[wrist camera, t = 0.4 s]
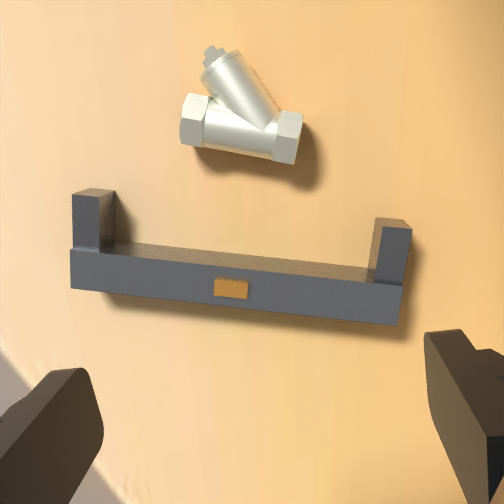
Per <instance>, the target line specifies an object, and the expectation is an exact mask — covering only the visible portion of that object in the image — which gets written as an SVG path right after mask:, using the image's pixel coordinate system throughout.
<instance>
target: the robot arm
mask: <svg viewBox="0 0 504 504" xmlns="http://www.w3.org/2000/svg"><path fill="white" fill-rule="evenodd" d="M424 353H425V366H426V380H427V393H428V401H429V407H430V412H431V416H432V419H433V422H434V425H435V427H436V430H437V432H438V434H439V437H440V439H441V441H442V444H443V446H444V448H445V451H446V453H447V455H448V458H449V460H450V462H451V465H452V467H453V469H454V472H455V474H456V476H457V479H458V481H459V483H460V486H461V488H462V490H463V493H464V495H465V497H466V500H467V502H468V504H504V356H503V355H501V354H499V353H498V352H496V351H494V350H492V349H483V350H476V349H475V348H474V346H473V345H472V343H471V342H470V341H469V339H468V338H467V337H466V335H465V334H464V333H463V331H462V330H461V329H454V330H445V331H435V332H426V333H425V334H424ZM103 436H104V427H103V421H102V418H101V414H100V411H99V407H98V404H97V400H96V397H95V393H94V390H93V387H92V383H91V380H90V377H89V374H88V372H87V371H86V370H85V369H84V368H73V369H63V370H54V371H51V372H49V373H48V374H47V375H46V376H45V377H44V378H43V379H42V380H41V382H40V383H39V384H38V385H37V386H36V387H35V388H34V389H33V390H32V391H31V392H30V393H29V394H28V395H27V396H26V397H24V398H23V399H21V400H20V401H18V402H17V403H15V404H14V405H12V406H11V407H10V408H9V409H8V410H7V411H6V412H5V413H4V414H3V415H2V416H1V417H0V504H69V502H70V500H71V498H72V497H73V495H74V493H75V492H76V490H77V488H78V486H79V485H80V483H81V481H82V480H83V478H84V476H85V474H86V473H87V471H88V469H89V468H90V466H91V464H92V462H93V461H94V459H95V457H96V456H97V454H98V452H99V450H100V448H101V446H102V442H103Z"/></svg>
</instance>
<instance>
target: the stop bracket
mask: <svg viewBox="0 0 504 504" xmlns="http://www.w3.org/2000/svg"><path fill="white" fill-rule="evenodd" d="M114 217H115V191H112V190H102V189H92V188H89V189H86V190H83V191H80V192H77V193H74V194H72V221H73V248H72V249H70V276H71V288H73V289H81V290H90V291H99V292H107V293H116V294H125V295H133V296H142V297H151V298H159V299H168V300H176V301H185V302H194V303H202V304H211V305H220V306H228V307H237V308H246V309H254V310H263V311H272V312H280V313H289V314H298V315H306V316H315V317H324V318H332V319H341V320H350V321H358V322H367V323H375V324H384V325H393V326H397V321H398V316H399V310H400V305H401V299H402V294H403V289H404V286H403V284H402V283H403V278H404V273H405V267H406V262H407V256H408V251H409V245H410V240H411V235H412V228H411V227H410V226H409V225H408V224H407V223H406V222H405V221H404V220H398V219H388V218H378V217H376V220H375V226H374V233H373V239H372V245H371V251H370V258H369V264H368V268H362V267H352V266H343V265H334V264H325V263H316V262H306V261H297V260H288V259H279V258H269V257H260V256H251V255H242V254H232V253H223V252H214V251H205V250H196V249H186V248H177V247H168V246H159V245H149V244H140V243H131V242H122V241H114Z"/></svg>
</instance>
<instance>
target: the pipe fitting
mask: <svg viewBox="0 0 504 504" xmlns="http://www.w3.org/2000/svg"><path fill="white" fill-rule="evenodd" d="M204 55H205V56H206V58H205V60H204V61H203V65H204V66H205V68H206V69H205V71H204V72H203V73H202V74H201V76H200V81H201V83H202V84H203V85H204V87H205V88H206V90H207V91H208V93H209V94H210V96H211V97H212V98H211V97H208V96H204V95H198V94H193V93H188V95H187V96H186V98H185V101H184V104H183V107H182V112H181V117H180V128H179V135H180V141H181V144H186V145H191V146H197V147H202V148H205V147H207V148H212V149H217V150H223V151H228V152H233V153H238V154H244V155H249V156H254V157H260V158H265V159H270V160H272V161H276V162H281V163H286V164H292V165H294V163H295V158H296V153H297V149H298V144H299V139H300V134H301V128H302V123H303V118H304V115H303V114H301V113H296V112H290V111H285V110H281V112H280V111H278V109H277V107H276V106H275V104H274V103H273V101H272V100H271V98H270V97H269V95H268V94H267V92H266V91H265V89H264V88H263V86H262V85H261V83H260V82H259V80H258V78H257V77H256V75H255V74H254V72H253V71H252V69H251V68H250V66H249V65H248V63H247V62H246V60H245V59H244V57H243V56H242V54H241V53H240V51H239V50H233V51H230V52H228V53H226V52H225V50H224V49H223V48H219V49H217V50H216V48H215V47H214V45H213V46H210V47H209V48H207V49H206V50H205V51H204Z"/></svg>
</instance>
